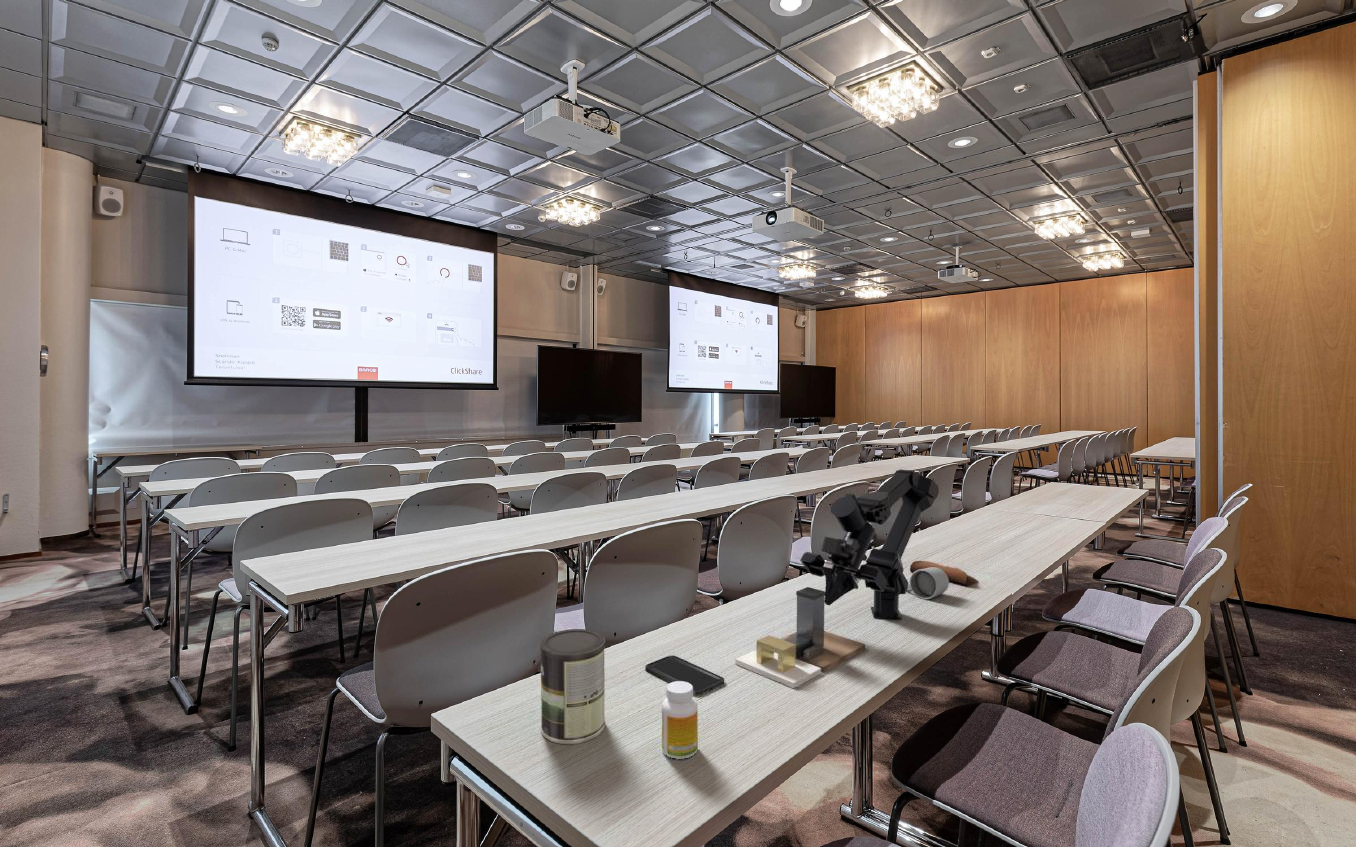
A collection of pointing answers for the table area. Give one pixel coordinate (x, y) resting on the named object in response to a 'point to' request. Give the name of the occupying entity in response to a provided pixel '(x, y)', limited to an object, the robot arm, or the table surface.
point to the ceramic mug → (928, 582)
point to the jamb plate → (770, 670)
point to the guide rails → (811, 650)
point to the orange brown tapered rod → (951, 572)
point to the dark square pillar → (809, 619)
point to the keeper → (779, 646)
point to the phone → (685, 674)
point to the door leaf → (833, 651)
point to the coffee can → (572, 686)
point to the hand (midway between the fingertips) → (826, 603)
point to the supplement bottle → (679, 721)
